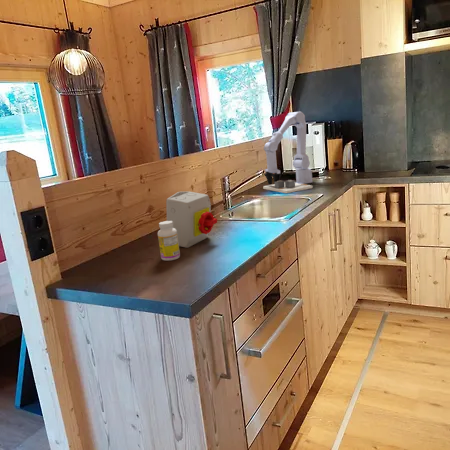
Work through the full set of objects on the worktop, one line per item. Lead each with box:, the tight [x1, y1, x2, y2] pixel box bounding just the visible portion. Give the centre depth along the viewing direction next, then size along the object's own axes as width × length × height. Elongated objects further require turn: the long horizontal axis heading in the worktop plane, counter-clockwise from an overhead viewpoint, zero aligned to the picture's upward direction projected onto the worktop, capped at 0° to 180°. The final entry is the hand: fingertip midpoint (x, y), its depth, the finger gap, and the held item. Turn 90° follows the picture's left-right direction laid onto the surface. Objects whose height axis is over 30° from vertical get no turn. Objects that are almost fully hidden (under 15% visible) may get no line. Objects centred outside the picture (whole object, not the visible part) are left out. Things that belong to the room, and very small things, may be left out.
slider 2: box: [284, 179, 296, 188], centre depth 252 cm, size 4×4×4 cm
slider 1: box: [273, 179, 285, 188], centre depth 255 cm, size 4×4×4 cm
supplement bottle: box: [157, 220, 181, 262], centre depth 148 cm, size 7×7×13 cm
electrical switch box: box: [165, 190, 218, 249], centre depth 163 cm, size 15×15×20 cm
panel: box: [262, 181, 313, 194], centre depth 260 cm, size 18×26×2 cm
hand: (273, 184), depth 262 cm, fingers open, 7 cm apart
